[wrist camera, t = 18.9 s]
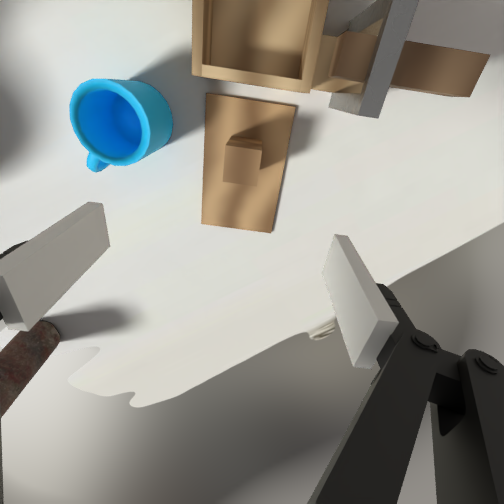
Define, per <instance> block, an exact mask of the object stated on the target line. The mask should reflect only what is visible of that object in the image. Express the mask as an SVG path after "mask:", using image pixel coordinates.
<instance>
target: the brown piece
mask: <svg viewBox="0 0 504 504" xmlns="http://www.w3.org/2000/svg"><path fill="white" fill-rule="evenodd" d="M59 342H60V334H59V333H58V332H57V330H56V329H55V328H54V325H52V324H51V323H49V322H45V321H38V322H37V323H36V324H35V325H34V326H33V327H32V328H31V329H30V330H29V331H19V332H18V334H17V335H16V336H15V337H14V338H13V339H12V340H11V341H10V342H9V343H8V344H7V345H6V346H5V347H4V348H3V349H2V351H1V352H0V411H1V417H2V416H3V415H4V414H5V412H6V411H7V410H8V408H9V407H10V406H11V405H12V403H13V402H14V401H15V399H16V398H17V397H18V395H19V394H20V393H21V391H22V390H23V389H24V388H25V387H26V385H27V384H28V383H29V381H30V380H31V379H32V377H33V376H34V375H35V374H36V373H37V371H38V370H39V369H40V367H41V366H42V365H43V364H44V362H45V361H46V360H47V359H48V357H49V356H50V355H51V353H52V352H53V351H54V349H55V348H56V347H57V346H58V344H59Z"/></svg>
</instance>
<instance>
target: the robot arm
mask: <svg viewBox="0 0 504 504" xmlns="http://www.w3.org/2000/svg"><path fill="white" fill-rule="evenodd" d="M109 247H110V242H109V236H108V231H107V225H106V219H105V214H104V208H103V204H102V203H95V202H87V203H86V204H84V205H83V206H81V207H80V208H78V209H77V210H75V211H74V212H72V213H70V214H69V215H67V216H66V217H64V218H63V219H61V220H60V221H58V222H57V223H55V224H54V225H52V226H51V227H49V228H48V229H46V230H44V231H43V232H41V233H40V234H38V235H37V236H35V237H34V238H32V239H31V240H29V241H25V242H22V243H20V244H17V245H14V246H12V247H11V248H9V249H8V250H6V251H4V252H3V254H0V320H1V319H3V320H4V322H5V324H6V326H7V328H8V329H11V330H20V331H29V330H30V329H31V328H32V327H33V326H34V325H35V324H36V323H37V322H38V321H39V320H40V319H41V318H42V317H43V316H44V315H45V314H46V313H47V311H48V310H49V309H50V308H51V307H52V306H53V305H54V304H55V303H56V302H57V301H58V300H59V299H60V298H61V297H62V296H63V295H64V294H65V293H66V292H67V291H68V290H69V289H70V287H71V286H72V285H73V284H74V283H75V282H76V281H77V280H78V279H79V278H80V277H81V276H82V275H83V274H84V273H85V272H86V271H87V270H88V269H89V268H90V267H91V266H92V265H93V264H94V262H95V261H96V260H97V259H98V258H99V257H100V256H101V255H102V254H103V253H104V252H105V251H106V250H107V249H108V248H109ZM322 275H323V278H324V281H325V284H326V287H327V290H328V293H329V296H330V299H331V302H332V305H333V308H334V311H335V314H336V317H337V320H338V323H339V326H340V329H341V332H342V335H343V338H344V341H345V344H346V346H347V350H348V353H349V356H350V359H351V362H352V365H353V367H358V368H368V369H371V368H372V366H373V365H374V363H375V361H376V360H377V361H378V364H379V366H380V370H379V372H378V373H377V375H376V376H375V378H374V380H373V381H372V383H371V386H370V388H369V390H368V392H367V394H366V395H365V397H364V399H363V401H362V403H361V405H360V407H359V408H358V411H357V412H356V414H355V416H354V418H353V420H352V421H351V423H350V425H349V427H348V429H347V431H346V433H345V435H344V437H343V438H342V440H341V442H340V444H339V446H338V448H337V449H336V452H335V453H334V455H333V457H332V459H331V460H330V462H329V464H328V466H327V468H326V470H325V472H324V474H323V475H322V477H321V479H320V481H319V483H318V485H317V487H316V488H315V490H314V492H313V494H312V496H311V498H310V499H309V501H308V503H307V504H397V500H398V497H399V494H400V490H401V487H402V484H403V481H404V477H405V474H406V471H407V467H408V464H409V461H410V457H411V454H412V451H413V447H414V444H415V441H416V438H417V434H418V431H419V428H420V424H421V421H422V418H423V414H424V411H425V408H426V404H427V401H429V402H430V408H431V423H432V437H433V452H434V466H435V480H436V495H437V504H504V366H503V365H502V364H501V363H500V362H499V361H498V360H496V359H495V358H494V357H492V356H490V355H488V354H486V353H484V352H482V351H478V350H475V349H469V350H467V351H466V352H465V353H464V354H463V355H462V356H459V355H456V354H453V353H450V352H448V351H445V350H442V349H441V347H440V346H439V344H438V343H437V342H436V341H435V340H434V339H433V338H432V337H431V336H429V335H428V334H426V333H425V332H422V331H420V330H417V329H416V328H415V327H414V325H413V323H412V322H411V320H410V319H409V317H408V316H407V314H406V313H405V311H404V310H403V308H401V305H400V303H399V302H398V301H397V299H396V297H395V296H394V294H393V293H392V291H391V290H389V289H388V288H387V287H386V286H385V285H384V284H378V283H375V281H374V280H373V278H372V276H371V274H370V273H369V271H368V269H367V268H366V266H365V264H364V263H363V261H362V259H361V258H360V256H359V254H358V253H357V251H356V249H355V247H354V246H353V244H352V242H351V241H350V239H349V237H348V236H345V235H337V234H335V235H334V238H333V241H332V244H331V247H330V250H329V253H328V256H327V258H326V261H325V264H324V267H323V270H322ZM0 504H4V503H3V472H2V442H1V411H0Z"/></svg>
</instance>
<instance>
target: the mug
mask: <svg viewBox="0 0 504 504" xmlns="http://www.w3.org/2000/svg"><path fill="white" fill-rule="evenodd" d="M70 120H71V123H72V126H73V129H74V132H75V134H76V136H77V137H78V139H79V140H80V142H81V144H82V145H83V146H84V147H85V148H86V149H87V150H88V151H89V155H88V158H87V167H88V168H89V169H90V170H91V171H93V172H99V171H102V170H103V169H105V168H106V167H107V166H108V165H110V164H112V165H115V166H127V165H130V164H133V163H136V162H138V161H139V160H141V159H143V158H145V157H146V156H148V155H150V154H151V153H153V152H155V151H157V150H158V149H160V148H161V147H163V146H164V145H165V144H166V143H167V142H168V140H169V138H170V136H171V134H172V128H173V120H172V113H171V110H170V108H169V106H168V103H167V101H166V100H165V99H164V97H163V96H162V95H161V94H160V92H158V91H157V90H156V89H155V88H153V87H152V86H151V85H149V84H146V83H143V82H140V81H130V80H115V79H91V80H88V81H86V82H84V83H81V84H80V85H79V87H78V88H77V89H76V90H75V91H74V92H73V95H72V98H71V102H70Z"/></svg>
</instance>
